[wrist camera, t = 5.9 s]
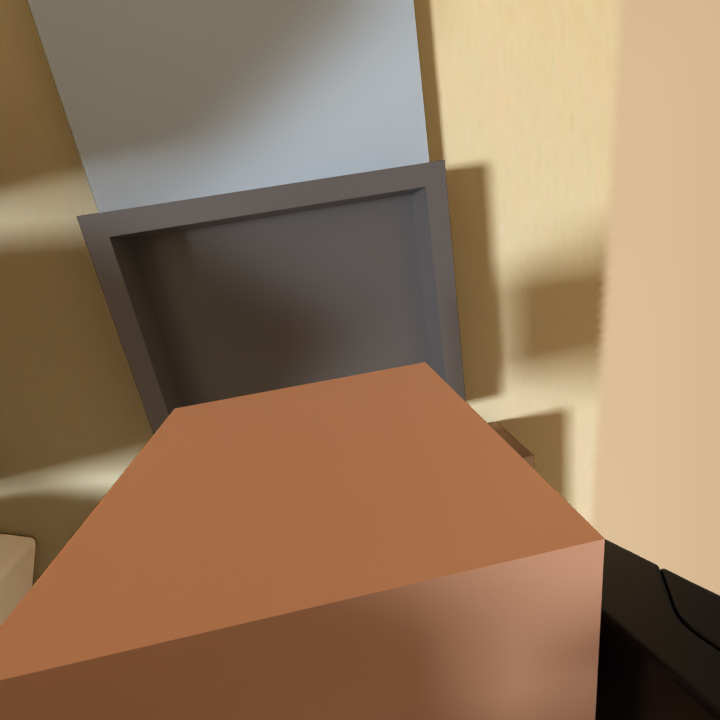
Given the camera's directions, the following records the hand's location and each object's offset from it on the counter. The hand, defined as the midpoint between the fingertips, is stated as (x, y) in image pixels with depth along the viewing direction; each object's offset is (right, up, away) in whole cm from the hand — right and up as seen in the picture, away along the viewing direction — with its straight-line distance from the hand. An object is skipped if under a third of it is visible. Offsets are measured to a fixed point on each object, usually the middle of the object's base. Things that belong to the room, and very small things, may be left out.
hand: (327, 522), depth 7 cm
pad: (-4, +15, +7) cm, 17 cm away
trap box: (-2, +5, +10) cm, 11 cm away
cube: (0, 0, +1) cm, 1 cm away
